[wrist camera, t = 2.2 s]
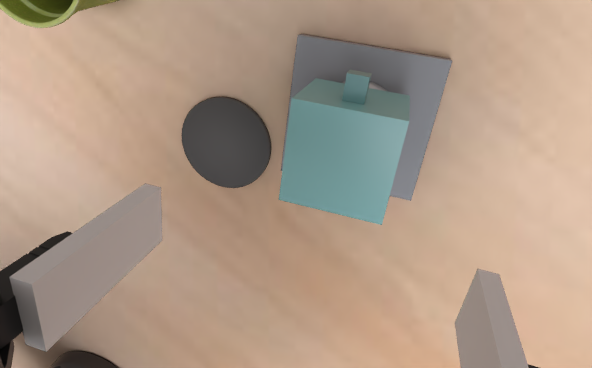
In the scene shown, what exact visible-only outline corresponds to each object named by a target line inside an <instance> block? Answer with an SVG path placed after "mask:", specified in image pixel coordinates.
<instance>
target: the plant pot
mask: <svg viewBox="0 0 592 368" xmlns="http://www.w3.org/2000/svg"><path fill="white" fill-rule="evenodd" d="M115 1H119V0H0V9H1V10H2V11H4V12H5V13H6V14H7V15H9V16H10V17H11V18H13V19H14V20H16V21H18V22H20V23H22V24H24V25H27V26H31V27H35V28H48V27H53V26H56V25H59V24H61V23H63V22H65V21H66V20H67V19H69V18H70V17H71V16H72V15H73V14H75V13H76V12H77V11H80V10H84V9H88V8H91V7H95V6H99V5H104V4H108V3H112V2H115Z"/></svg>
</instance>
